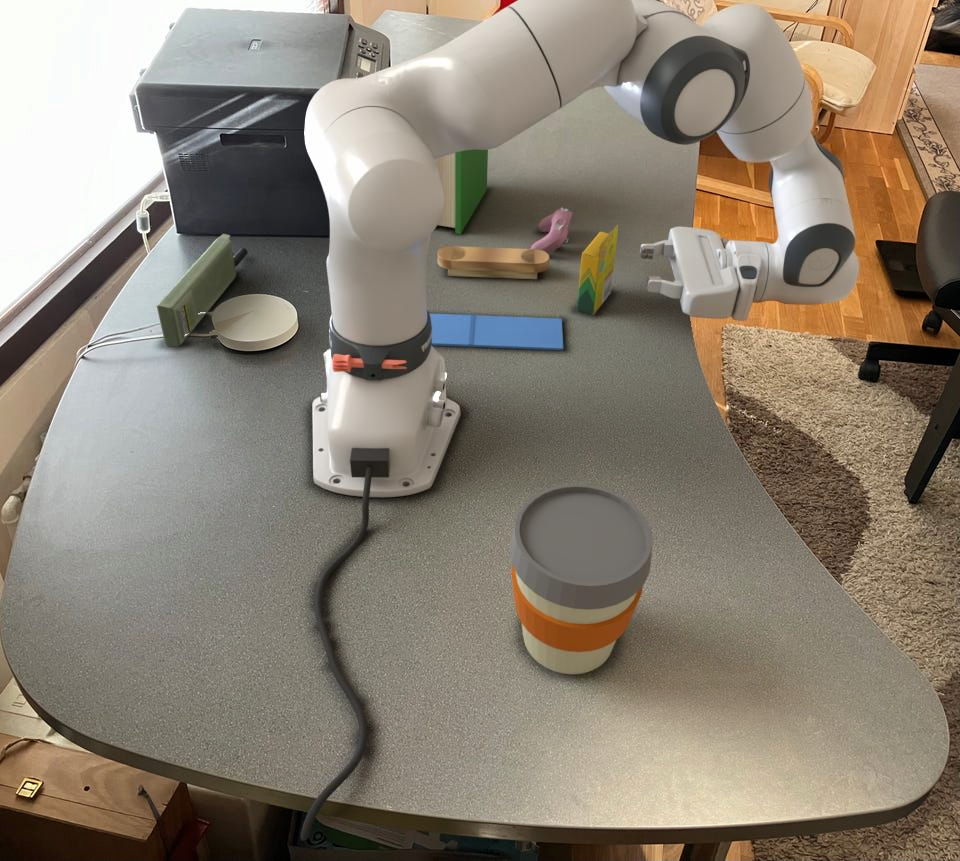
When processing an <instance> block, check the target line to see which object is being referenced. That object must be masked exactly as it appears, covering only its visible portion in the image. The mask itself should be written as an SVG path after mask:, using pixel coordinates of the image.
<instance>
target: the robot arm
mask: <svg viewBox="0 0 960 861" xmlns="http://www.w3.org/2000/svg"><path fill="white" fill-rule="evenodd" d="M808 84H809V83H808V81H807V78H806V75H805V73H804V70H803V67H802V65H801V63H800V60H799V59H798V57H797V54H796V52H795V50H794V48H793V46H792V45H791V42H790V41H789V38H788V37H787V36H786V34H785V32H784V31H783V29H782V28H781V26H780V25H779V24H778V22H777V21H776V19H775V18H774V17H773V15H772V14H771V13H770V12H769V11H768V10H767V9H765V8H763V7H762V6H759V5H757V4H753V3H737V4H733V5H730V6H727V7H725V8H723V9H720V10H719V11H717V12H715V13H714V14H712V15H711V16H710V17H709V18H708V19H707V20H706V21H705V22H704V23H703V24H702V25H700V24H698V23H696V22H695V21H694V20H693V18H691V16H689V15H687V14H686V13H684V12H682V11H681V10H679V9H678V8H675V7H673V6H671V5H670V4H667V3H665V2H663V1H662V0H516V1H514V2H513V3H511V4H509V5H508V6H506V7H504V8H502V9H500V11H498V12H496V13H494V14H493V15H491V16H490V17H488V18H487V19H485V20H483V21H481V22H480V23H478V24H477V25H475V26H473V27H471V28H470V29H468V30H467V31H465V32H463V33H462V34H460V35H459V36H457V37H455V38H454V39H452V40H450V41H449V42H447V43H444V44H443V45H441V46H439V47H437V48H435V49H433V50H431V51H429V52H426V53H424V54H421V55H419V56H416V57H414V58H411V59H408V60H406V61H403V62H400V63H397V64H395V65H392V66H389V67H387V68H384V69H381V70H378V71H376V72H373V73H370V74H368V75H365V76H361V77H355V78H352V77H351V78H350V77H349V78H339V79H335V80H332V81H330V82H328V83H326V84H325V85H323V86H322V87H320V88H319V89H318V90H317V92H316V93H314V95H313V96H312V98H311V100H310V101H309V103H308V106H307V109H306V112H305V120H304V144H305V148H306V152H307V154H308V157H309V158H310V161H311V163H312V165H313V167H314V169H315V171H316V174H317V177H318V180H319V182H320V186H321V188H322V191H323V194H324V197H325V201H326V205H327V210H328V218H329V247H328V248H329V250H328V254H327V257H326V261H325V262H326V273H327V282H328V291H329V302H330V311H331V315H330V318H329V329H328V341H329V348H328V349H327V350H326V351H325V352H323V361H324V367H325V368H324V369H325V375H326V392H321V393H320V396H318V397H316V398H315V399H314V400H312V405H311V406H312V410H311V411H312V412H311V413H312V418H311V420H312V475H313V476H312V478H313V483H314V484H315V485H316V486H318V487H319V488H322V489H324V490H327V491H330V492H332V493H336V494H341V495H344V496H345V495H346V496H351V497H362V502H361V504H362V505H361V514H362V516H361V519H362V520H361V524H360V527H359V530H358V532H357V533H356V534H357V535H356V536H355V538H354V539H353V541H352V542H351V543H350V544H349V546H348V547H347V548H346V549H345V550H344V551H343V552H342V553H340V555H339V556H337V557H336V558H335V559H334V560H333V561H332V562H331V563H330V564H329V565H328V566H327V567H326V568H325V570H324V571H323V572H322V574H321V576H320V578H319V580H318V582H317V585H316V589H315V593H314V594H315V595H314V613H315V614H314V615H315V620H316V625H317V628H318V631H319V634H320V637H321V641H322V643H323V647H324V650H325V653H326V654H325V655H326V656H327V662H328V663H329V667H330V670H331V671H332V674H333V676H334V678H335V680H336V682H337V683H338V685H339V687H340V688H341V690H342V691H343V693H344V694H345V696H346V698H347V699H348V701H349V703H350V705H351V706H352V709H353V710H354V713H355V715H356V719H357V723H358V742H357V745H356V746H357V747H356V749H355V752H354V754H353V756H352V758H351V759H350V761H349V762H348V763H347V764H346V766H345V767H344V768H343V769H342V770H341V771H340V772H339V773H338V774H337V776H336V777H334V779H332V781H330V782H329V783H328V784H327V786H325V788H324V789H323V790H322V791H321V792H320V794H318V796H317V797H316V798H315V800H314V801H313V803H312V804H311V806H310V808H309V810H308V811H307V814H306V816H305V819H304V821H303V824H302V828H301V832H300V836H299V838H300V839H301V841H302V842H303V841H304V842H305V841H307V840H308V839H309V838H310V836H311V830H312V827H313V825H314V822H315V820H316V817H317V815H318V813H319V811H320V810H321V808H322V807H323V805H324V804H325V803H326V802H327V800H328V799H329V798H330V796H331V795H332V794H333V793H334V792H335V791H336V790H337V789H338V788H339V787H340V786H341V785H342V784H343V783H344V782H345V781H346V780H347V779H348V778H349V777H350V776H351V774H352V773H354V771H355V770H356V768H357V767H358V766H359V764H360V762H361V760H362V759H363V756H364V754H365V751H366V748H367V743H368V722H367V718H366V714H365V711H364V708H363V706H362V704H361V702H360V700H359V698H358V697H357V695H356V693H355V691H354V690H353V688H352V687H351V685H350V684H349V682H348V681H347V679H346V677H345V676H344V674H343V672H342V670H341V668H340V665H339V663H338V661H337V658H336V655H335V651H334V648H333V644H332V641H331V639H330V636H329V632H328V630H327V626H326V623H325V619H324V614H323V605H322V604H323V595H324V589H325V586H326V583H327V581H328V579H329V577H330V576H331V575H332V574H333V572H334V571H335V570H336V569H337V568H338V567H339V566H340V565H341V564H342V563H343V562H344V561H345V560H346V559H347V558H348V557H349V556H350V555H351V554H352V552H354V550H356V549H357V547H358V546H359V545H360V544H361V542H362V540H363V539H364V537H365V535H366V533H367V530H368V527H369V522H370V498H396V497H404V496H410V495H414V494H418V493H421V492H424V491H426V490H428V489H430V488H431V487H432V486H433V484H434V482H435V480H436V477H437V475H438V472H439V469H440V467H441V464H442V462H443V460H444V457H445V456H446V452H447V449H448V447H449V445H450V443H451V439H452V437H453V436H454V435H453V434H454V433H455V430H456V427H457V425H458V423H459V420H460V417H461V415H462V414H461V407H460V405H459V404H458V402H457V403H456V402H455V401H454V400H452V399H449V398H448V397H447V387H446V386H447V385H446V379H447V372H446V366H445V365H446V364H445V358H444V357H443V356H442V354H440V353H439V352H438V351H437V350H436V349H435V348H434V345H432V323H431V317H430V314H431V313H430V311H429V310H428V288H427V287H428V283H427V281H428V280H427V265H428V264H427V263H428V253H429V249H430V247H429V246H430V241H431V236H432V233H434V231H435V229H436V228H437V226H439V225H438V223H439V221H440V219H441V216H442V213H443V209H444V192H443V186H442V182H441V178H440V174H439V170H438V167H437V164H436V162H435V159H437V158H440V157H443V156H446V155H449V154H453V153H456V152H460V151H465V150H488V151H489V150H493V149H496V148H498V147H501V146H502V145H504V144H505V143H507V142H509V141H510V140H512V139H514V138H515V137H517V136H518V135H520V134H521V133H523V132H525V131H526V130H528V129H530V128H532V127H533V126H535V125H536V124H538V123H539V122H541V121H543V120H544V119H546V118H547V117H549V116H551V115H552V114H554V113H556V112H557V111H559V110H561V109H562V108H563V107H565V106H566V105H569V104H570V103H571V102H573V101H574V100H576V99H577V98H578V97H580V96H581V95H583V94H584V93H585V92H587V91H588V92H589V91H590V90H593V89H596V88H601V87H602V88H604V89H605V91H606V92H607V93H608V94H609V95H610V97H611V98H612V99H613V100H614V101H615V103H616V104H617V105H618V107H619V108H620V109H621V110H622V111H624V112H625V113H626V114H627V115H628V116H630V118H633V119H634V120H635V121H636V122H638V123H639V124H641V125H643V126H645V127H646V129H647V130H648V131H649V132H650V133H651V134H653V135H654V136H656V137H657V138H660V139H662V140H664V141H667V142H669V143H673V144H676V145H683V146H687V145H693V144H696V143H699V142H702V141H704V140H706V139H707V138H709V137H710V136H712V135H714V134H715V133H717V135H718V136H719V138H720V140H721V141H722V143H723V144H724V146H725V147H726V148H727V150H729V151H730V152H731V153H732V155H733V156H734V157H735V158H736V159H738V160H739V161H741V162H746V163H753V164H760V163H768V162H769V164H770V170H769V176H768V189H769V193H770V194H769V195H770V198H771V201H772V205H773V211H774V217H775V223H776V224H775V225H776V231H777V239H776V240H775V242H774V243H771V242H768V241H758V240H757V241H755V240H737V239H733V240H732V239H731V240H728V239H727V238H724V237H721V235H720V233H718V232H716V231H714V230H711V229H706V228H699V227H691V226H689V227H688V226H674V227H671V228H670V229H669V231H668V232H669V233H668V237H667V239H663V240H660V241H657V242H654V243H642V244H641V245H640V250H639V253H640V254H639V255H640V258H641V259H643V260H653V258H654V257H658V256H662V257H663V258H669V262H670V266H671V270H672V273H673V277H674V280H673V281H669V280H667V279H662V278H661V276H653V275H651V276H648V277H647V280H646V291H647V292H648V293H659V294H660V295H663V296H665V297H668V298H671V299H679V302H680V307H681V311H682V313H683V314H685V315H687V316H689V317H692V318H699V319H715V320H716V319H717V320H721V319H722V320H723V319H729V318H731V319H732V320H734V321H738V322H745V321H747V320H748V318H749V315H750V311H751V309H752V305H753V303H754V304H761V303H765V302H777V303H781V304H784V305H797V306H799V305H801V306H807V305H809V306H811V305H812V306H813V305H826V304H833V303H836V302H837V303H838V302H840V301H843V300H845V299H846V298H847V297H849V295H850V294H851V293H852V292H853V290H854V288H855V287H856V284H857V281H858V278H859V274H860V261H859V257H858V255H857V254H856V253H855V248H856V232H855V226H854V222H853V217H852V212H851V208H850V204H849V199H848V195H847V190H846V182H845V174H844V173H845V172H844V166H843V164H842V162H841V161H840V159H839V158H838V157H837V156H836V155H835V154H834V153H833V152H831V151H829V149H827V148H826V147H824V146H823V145H821V144H820V143H819V142H818V140H817V139H816V138H815V136H814V133H813V131H812V129H813V126H814V111H813V110H814V109H813V102H812V96H811V92H810V88H809V85H808ZM429 313H430V314H429Z"/></svg>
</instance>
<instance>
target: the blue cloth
mask: <svg viewBox="0 0 960 861" xmlns="http://www.w3.org/2000/svg"><path fill="white" fill-rule="evenodd" d="M429 314H430V317H431V323H432V346H441V347H461V348H462V347H463V348H464V347H465V348H487V349H488V348H490V349H492V348H493V349H514V350H516V349H517V350H541V351H564V334H563V333H564V332H563V319H562V318H557V317H534V316H533V317H532V316H531V317H529V316H506V315H505V316H504V315H480V314H478V315H477V314H455V313H454V314H453V313H431V312H429Z"/></svg>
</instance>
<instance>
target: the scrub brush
mask: <svg viewBox="0 0 960 861" xmlns="http://www.w3.org/2000/svg"><path fill="white" fill-rule="evenodd" d="M436 257H437V264H438V266H439V267H441V268H443V269H446V270H447V276H448V277H469V278H470V277H471V278H491V279H492V278H495V279H520V280H522V279H523V280H538V273H542V272H545V271H547V270H548V269H549V266H550V255H549V254H547V253H546V252H544V251H542V250H538V249H531V248H513V247H489V246H488V247H486V246H463V245H462V246H457V245H449V246H444V247H442V248H439V250H438V251H437V256H436Z"/></svg>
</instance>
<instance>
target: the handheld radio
mask: <svg viewBox="0 0 960 861" xmlns="http://www.w3.org/2000/svg"><path fill="white" fill-rule="evenodd" d="M230 237H231V235H230V234H226V233H222V234H221V235H220V236H218V237H217V238H216V239H214V241H213V242H212V243H211V245H209V247H208V248H207V249H206V250H205V251H204V252H203V253H202V255H201V256H200V257H199V258H197V260H196V261H195V262H194V263H193V264H192V266H190V268H189V269H188V270H187V271H186V272H185V273H184V274H183V275H182V277H181V278H179V280H178V281H177V282H176V283H175V284H174V285H173V287H172V288H171V289H170V290H169V291H168V292H167V293H166V294H165V295H164V297H163V298H162V299H161V300H160V301H159V302H158V303H157V305H156V309H157V314H158V318H159V323H160V327H161V331H162V336H163V340H164V344H165V345H166V346H167V347H174V348H175V347H176V348H178V347H180V346H181V345H182V344H183V343H184V342H185V340H186V339H187V338H188V336H190V334H191V332H193V330H194V329H195V328H196V327H197V325H199V323H200V322H201V320H203V318H204V317H205V316H206V314H201V315H198V313H200V312H207V313H208V312H209V311H210V309H211V308H212V307H213V306H214V304H215V303H216V302H217V301H218V300H219V298H220V297H221V296H222V295H223V293H224V292H225V291H226V290H227V288H228V287H229V286H230V284H231V283H232V282H233V281H234V280H235V278H236V276H237V272H236V267H237V266H238V265H239V264H240V263H241V262H242V261H243V260H244V259H245V258H246V256H247V255H248V253H249V252H248V250H247V249H246V248H245V247H240V249H239V250H238V251H237V252H236V253H235V254H234V252H233V246H232V242H231V240H230ZM188 333H189V334H188ZM185 334H188V335H187V336H186V337H184V335H185Z"/></svg>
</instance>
